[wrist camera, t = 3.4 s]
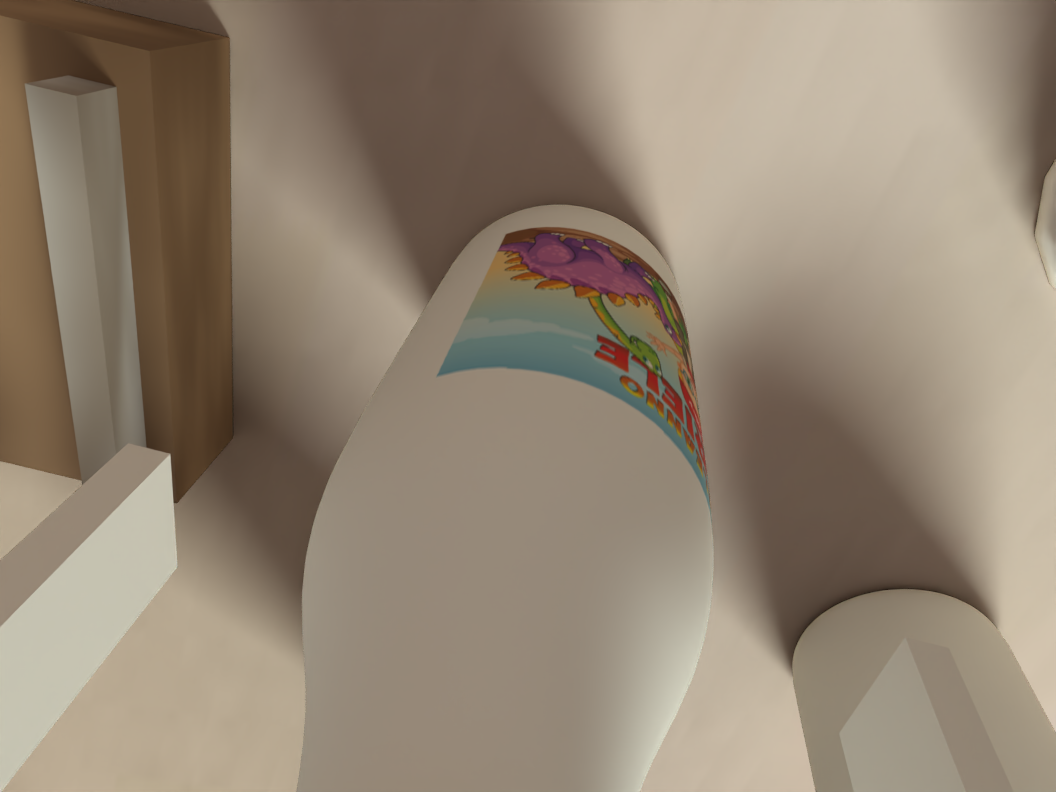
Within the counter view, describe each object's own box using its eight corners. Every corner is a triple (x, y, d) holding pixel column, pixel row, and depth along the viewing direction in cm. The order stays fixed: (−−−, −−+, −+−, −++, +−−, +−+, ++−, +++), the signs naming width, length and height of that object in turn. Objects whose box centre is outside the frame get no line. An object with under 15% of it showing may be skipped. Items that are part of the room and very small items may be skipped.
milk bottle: (539, 454, 27) (370, 1334, 9) (396, 290, 24) (-190, 1086, 7) (729, 345, 24) (988, 1347, 6) (589, 144, 21) (397, 913, 4)
